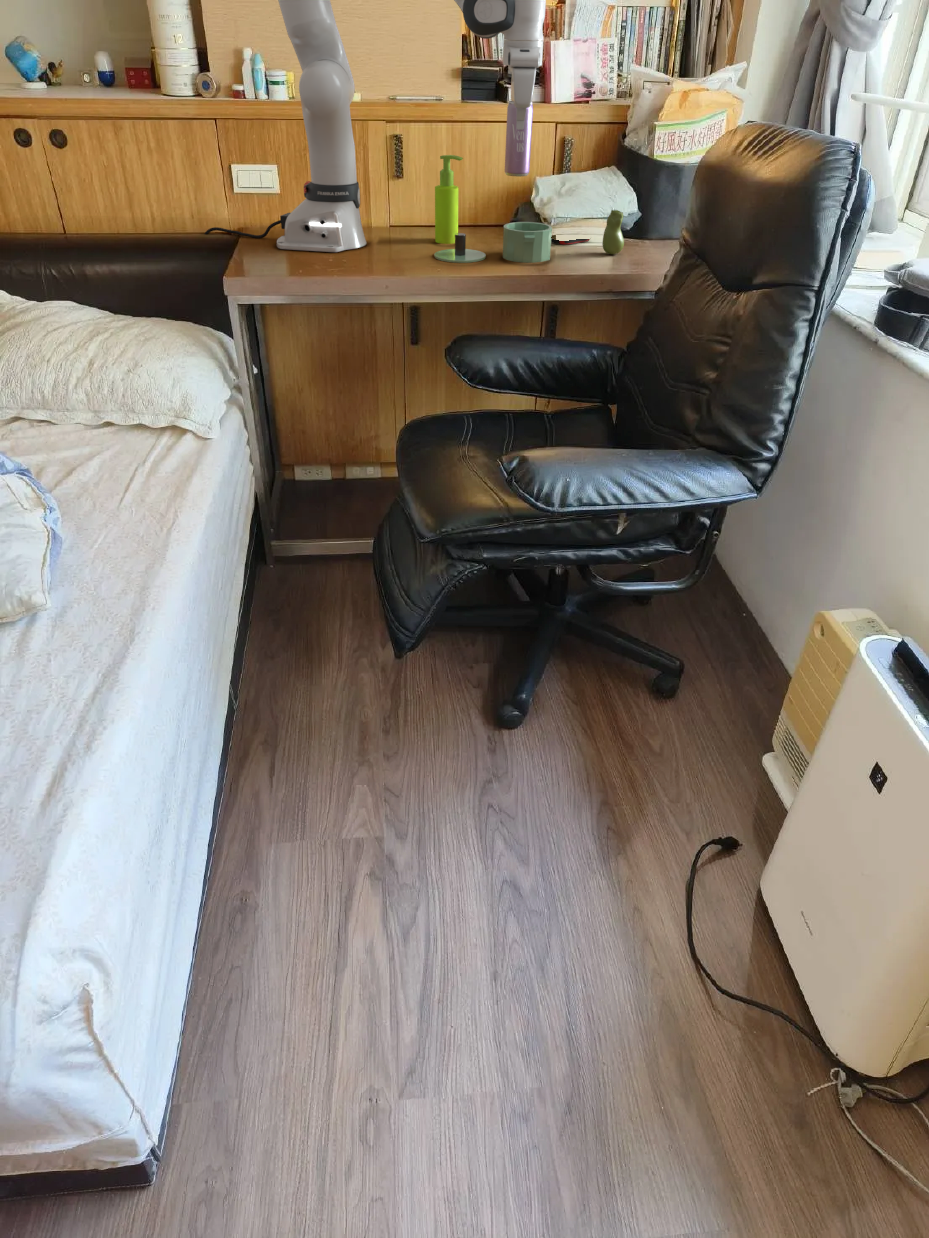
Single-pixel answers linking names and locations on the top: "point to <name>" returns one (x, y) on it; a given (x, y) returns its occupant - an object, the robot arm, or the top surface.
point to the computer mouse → (569, 241)
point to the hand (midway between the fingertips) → (519, 127)
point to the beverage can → (518, 142)
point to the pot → (526, 242)
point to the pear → (613, 233)
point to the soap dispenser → (446, 204)
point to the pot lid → (460, 252)
